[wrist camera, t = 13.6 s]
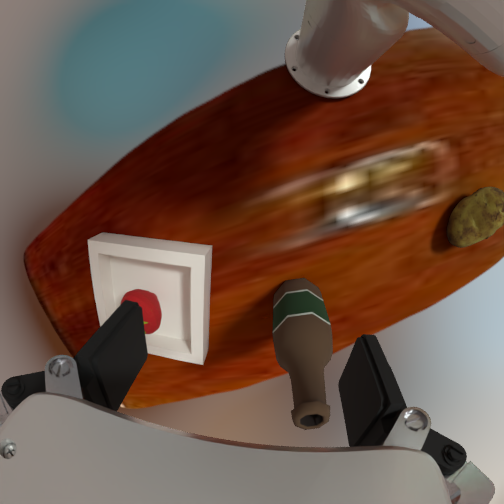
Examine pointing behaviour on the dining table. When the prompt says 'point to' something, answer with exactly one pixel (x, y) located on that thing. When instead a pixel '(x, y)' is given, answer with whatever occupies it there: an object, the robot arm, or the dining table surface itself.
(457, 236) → the potato
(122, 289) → the tray
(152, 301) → the strawberry
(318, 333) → the beer bottle
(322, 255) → the dining table surface
